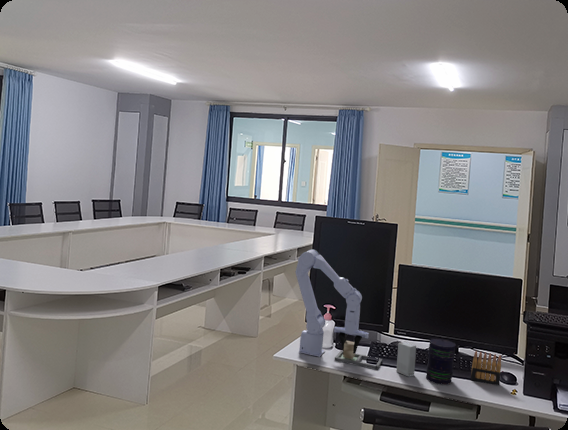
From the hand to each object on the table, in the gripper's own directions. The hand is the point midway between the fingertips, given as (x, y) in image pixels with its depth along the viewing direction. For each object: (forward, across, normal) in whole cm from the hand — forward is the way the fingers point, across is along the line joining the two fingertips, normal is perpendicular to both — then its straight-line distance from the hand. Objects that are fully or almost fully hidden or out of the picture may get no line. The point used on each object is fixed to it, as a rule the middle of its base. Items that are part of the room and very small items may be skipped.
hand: (349, 351), depth 218 cm
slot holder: (+3, -4, 0) cm, 5 cm away
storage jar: (+3, -37, +2) cm, 37 cm away
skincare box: (+3, -24, +3) cm, 24 cm away
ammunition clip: (+3, -54, -6) cm, 54 cm away
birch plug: (+2, 0, 0) cm, 2 cm away
